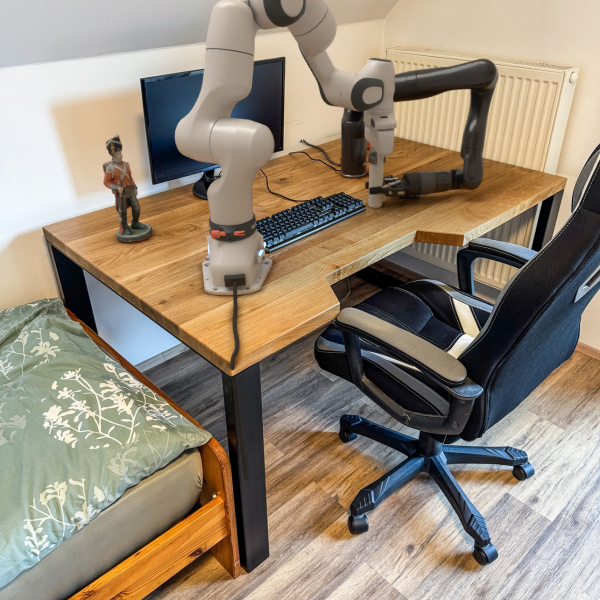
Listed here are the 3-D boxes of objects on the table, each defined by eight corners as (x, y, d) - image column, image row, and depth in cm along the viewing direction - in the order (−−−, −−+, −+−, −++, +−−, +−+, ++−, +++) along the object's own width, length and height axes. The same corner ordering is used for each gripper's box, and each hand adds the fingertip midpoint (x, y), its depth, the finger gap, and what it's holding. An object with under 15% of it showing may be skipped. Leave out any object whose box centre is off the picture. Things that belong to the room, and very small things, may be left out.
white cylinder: (368, 207, 181) (369, 159, 173) (368, 202, 185) (370, 155, 176) (382, 207, 180) (384, 159, 172) (382, 202, 184) (384, 155, 176)
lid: (389, 161, 175) (389, 154, 173) (377, 165, 172) (377, 158, 170) (376, 157, 178) (376, 150, 177) (364, 161, 175) (364, 154, 174)
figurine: (143, 244, 164) (122, 142, 148) (110, 242, 166) (86, 141, 150) (158, 228, 173) (139, 130, 157) (126, 227, 175) (105, 130, 159)
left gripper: (360, 108, 176) (359, 152, 183) (376, 125, 159) (375, 173, 166) (379, 107, 177) (378, 150, 184) (398, 124, 159) (396, 171, 167)
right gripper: (412, 165, 185) (362, 169, 183) (427, 179, 173) (373, 184, 171) (411, 186, 189) (361, 191, 187) (425, 202, 177) (372, 207, 175)
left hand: (377, 161), depth 175 cm, fingers closed on lid, 5 cm apart
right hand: (367, 188), depth 179 cm, fingers closed on white cylinder, 4 cm apart
